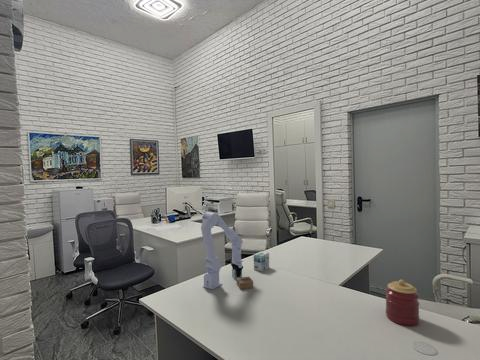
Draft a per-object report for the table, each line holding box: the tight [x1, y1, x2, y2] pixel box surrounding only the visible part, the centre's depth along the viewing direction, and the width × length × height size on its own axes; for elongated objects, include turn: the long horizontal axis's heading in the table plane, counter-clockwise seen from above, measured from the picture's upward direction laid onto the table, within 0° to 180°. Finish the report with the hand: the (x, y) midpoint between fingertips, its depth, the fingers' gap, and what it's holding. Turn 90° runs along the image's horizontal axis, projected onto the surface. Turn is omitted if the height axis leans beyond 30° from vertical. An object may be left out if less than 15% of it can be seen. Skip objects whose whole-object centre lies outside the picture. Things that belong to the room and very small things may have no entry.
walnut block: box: [236, 276, 254, 290], centre depth 158 cm, size 8×8×4 cm
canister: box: [385, 279, 420, 327], centre depth 119 cm, size 13×13×18 cm
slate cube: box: [231, 268, 243, 281], centre depth 171 cm, size 5×5×5 cm
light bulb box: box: [253, 250, 270, 272], centre depth 187 cm, size 11×7×11 cm, turn 143°
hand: (236, 275), depth 171 cm, fingers closed on slate cube, 5 cm apart
